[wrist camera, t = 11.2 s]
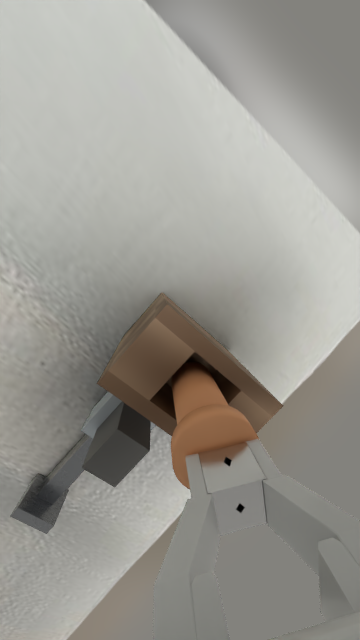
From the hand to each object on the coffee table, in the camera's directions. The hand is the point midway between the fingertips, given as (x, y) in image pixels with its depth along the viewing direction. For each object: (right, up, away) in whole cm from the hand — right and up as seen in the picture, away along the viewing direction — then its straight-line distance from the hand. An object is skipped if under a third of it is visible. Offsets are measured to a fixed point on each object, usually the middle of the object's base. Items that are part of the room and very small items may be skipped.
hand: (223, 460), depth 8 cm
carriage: (-7, -3, +15) cm, 17 cm away
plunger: (-1, +1, +6) cm, 6 cm away
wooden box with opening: (-2, +3, +14) cm, 15 cm away
